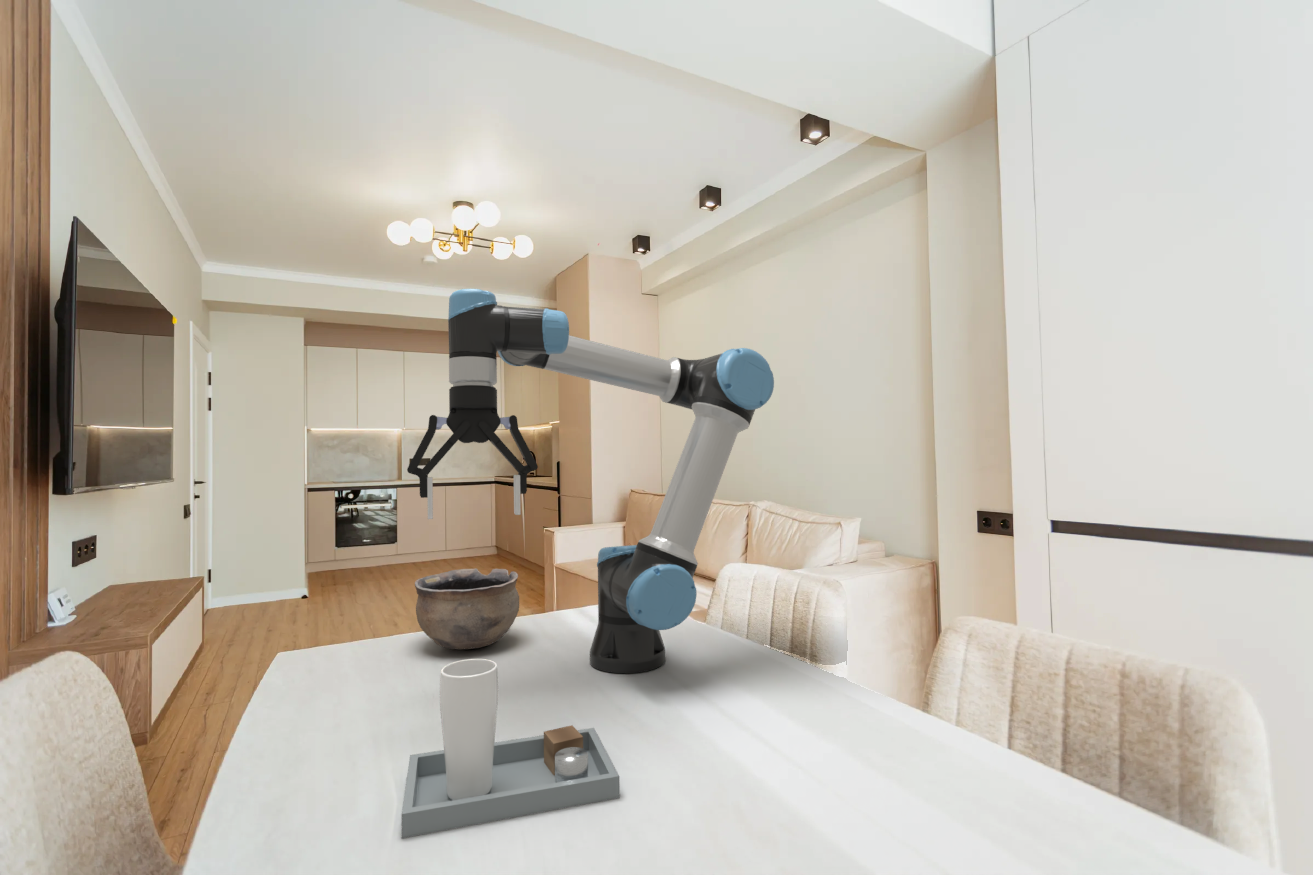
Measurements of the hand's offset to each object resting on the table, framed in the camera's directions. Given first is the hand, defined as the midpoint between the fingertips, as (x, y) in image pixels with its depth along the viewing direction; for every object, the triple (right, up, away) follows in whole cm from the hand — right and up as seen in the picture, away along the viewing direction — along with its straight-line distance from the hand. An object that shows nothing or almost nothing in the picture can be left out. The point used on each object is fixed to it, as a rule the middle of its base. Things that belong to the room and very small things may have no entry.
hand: (474, 516), depth 102 cm
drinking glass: (+7, -30, -26) cm, 41 cm away
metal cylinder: (+19, -30, -25) cm, 44 cm away
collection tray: (+12, -31, -25) cm, 41 cm away
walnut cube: (+17, -30, -20) cm, 40 cm away
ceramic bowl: (-11, -33, +35) cm, 49 cm away
